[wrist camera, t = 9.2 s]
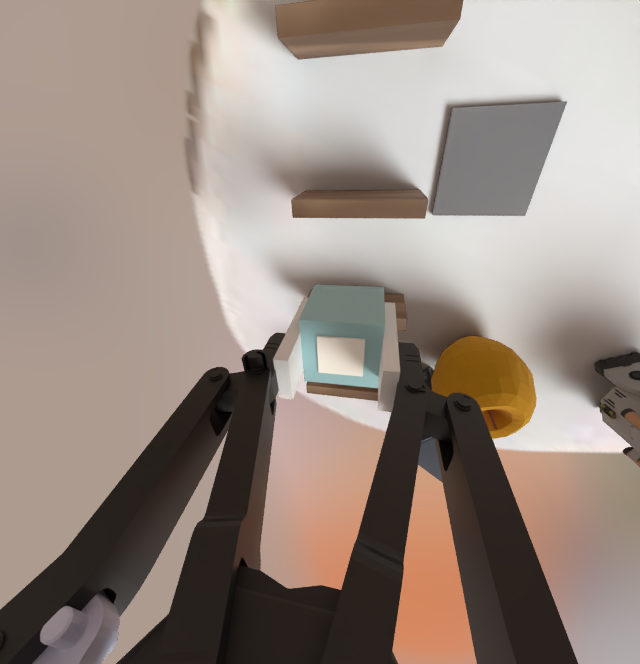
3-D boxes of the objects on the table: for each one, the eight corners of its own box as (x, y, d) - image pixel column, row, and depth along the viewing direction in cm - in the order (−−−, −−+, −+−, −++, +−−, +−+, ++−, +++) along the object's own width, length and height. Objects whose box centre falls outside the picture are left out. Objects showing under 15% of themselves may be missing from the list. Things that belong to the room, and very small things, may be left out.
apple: (423, 320, 33) (440, 391, 24) (514, 311, 31) (575, 387, 21) (425, 379, 38) (440, 457, 29) (503, 376, 36) (549, 460, 26)
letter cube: (314, 284, 18) (298, 321, 14) (383, 287, 17) (385, 326, 14) (317, 339, 21) (304, 382, 17) (378, 343, 20) (378, 389, 16)
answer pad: (451, 108, 22) (453, 107, 22) (563, 102, 21) (567, 101, 20) (431, 214, 27) (432, 215, 26) (522, 214, 25) (524, 215, 25)
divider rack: (297, 34, 21) (275, 5, 17) (446, 18, 19) (466, -19, 15) (315, 365, 40) (307, 392, 36) (391, 372, 39) (392, 402, 34)
